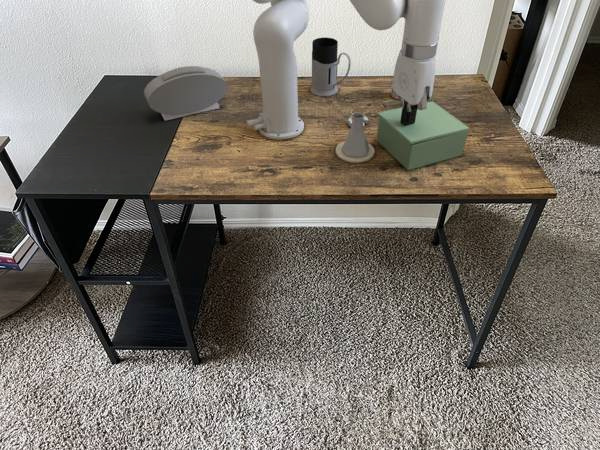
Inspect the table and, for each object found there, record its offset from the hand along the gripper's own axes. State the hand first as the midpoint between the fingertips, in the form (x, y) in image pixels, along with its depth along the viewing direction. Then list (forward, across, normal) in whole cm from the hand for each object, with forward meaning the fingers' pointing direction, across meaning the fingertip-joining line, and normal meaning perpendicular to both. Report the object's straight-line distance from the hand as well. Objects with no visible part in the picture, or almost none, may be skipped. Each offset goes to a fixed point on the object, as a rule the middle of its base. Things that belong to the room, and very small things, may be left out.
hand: (407, 123), depth 111 cm
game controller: (+8, -20, -4) cm, 22 cm away
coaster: (+8, -5, -11) cm, 15 cm away
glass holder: (+8, -38, -2) cm, 39 cm away
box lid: (+1, 0, +4) cm, 5 cm away
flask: (+8, -5, -11) cm, 15 cm away
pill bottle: (+8, -27, +16) cm, 33 cm away
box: (+8, 0, +5) cm, 10 cm away
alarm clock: (+8, -45, -45) cm, 64 cm away
